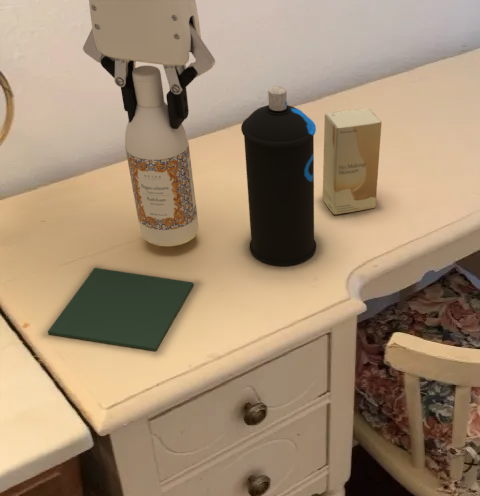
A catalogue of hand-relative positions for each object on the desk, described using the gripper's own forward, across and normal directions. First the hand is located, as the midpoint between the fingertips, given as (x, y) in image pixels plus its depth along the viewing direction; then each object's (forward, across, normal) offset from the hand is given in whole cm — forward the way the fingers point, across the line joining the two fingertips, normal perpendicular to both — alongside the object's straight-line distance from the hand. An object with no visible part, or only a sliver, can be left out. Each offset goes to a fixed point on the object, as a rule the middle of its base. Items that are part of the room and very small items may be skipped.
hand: (157, 119), depth 92 cm
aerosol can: (+16, -13, -2) cm, 21 cm away
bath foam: (+15, 0, 0) cm, 15 cm away
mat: (+16, +1, +14) cm, 21 cm away
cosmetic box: (+16, -19, -14) cm, 29 cm away
